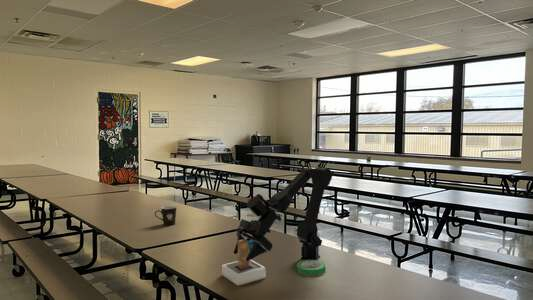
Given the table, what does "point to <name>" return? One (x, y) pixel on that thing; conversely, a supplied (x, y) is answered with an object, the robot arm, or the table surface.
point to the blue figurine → (250, 244)
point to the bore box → (243, 272)
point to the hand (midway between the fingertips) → (240, 256)
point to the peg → (243, 255)
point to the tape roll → (311, 271)
